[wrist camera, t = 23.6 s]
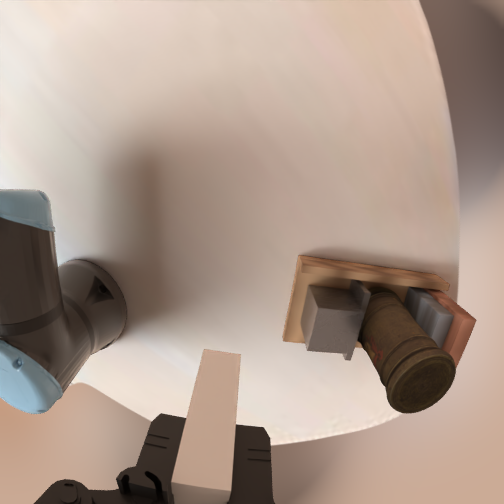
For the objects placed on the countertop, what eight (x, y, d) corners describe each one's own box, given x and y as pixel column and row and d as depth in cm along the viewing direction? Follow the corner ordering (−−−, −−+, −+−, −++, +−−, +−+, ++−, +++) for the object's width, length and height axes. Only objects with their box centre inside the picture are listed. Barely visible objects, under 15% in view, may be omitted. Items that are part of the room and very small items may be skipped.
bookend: (297, 334, 47) (303, 363, 39) (311, 271, 44) (321, 292, 37) (340, 338, 47) (353, 366, 40) (357, 277, 44) (374, 298, 37)
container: (371, 275, 44) (428, 338, 27) (411, 304, 46) (471, 367, 28) (334, 324, 46) (369, 403, 29) (376, 348, 48) (419, 424, 30)
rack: (282, 336, 49) (290, 392, 36) (298, 255, 45) (315, 293, 32) (412, 345, 49) (446, 392, 36) (435, 274, 46) (482, 309, 33)
